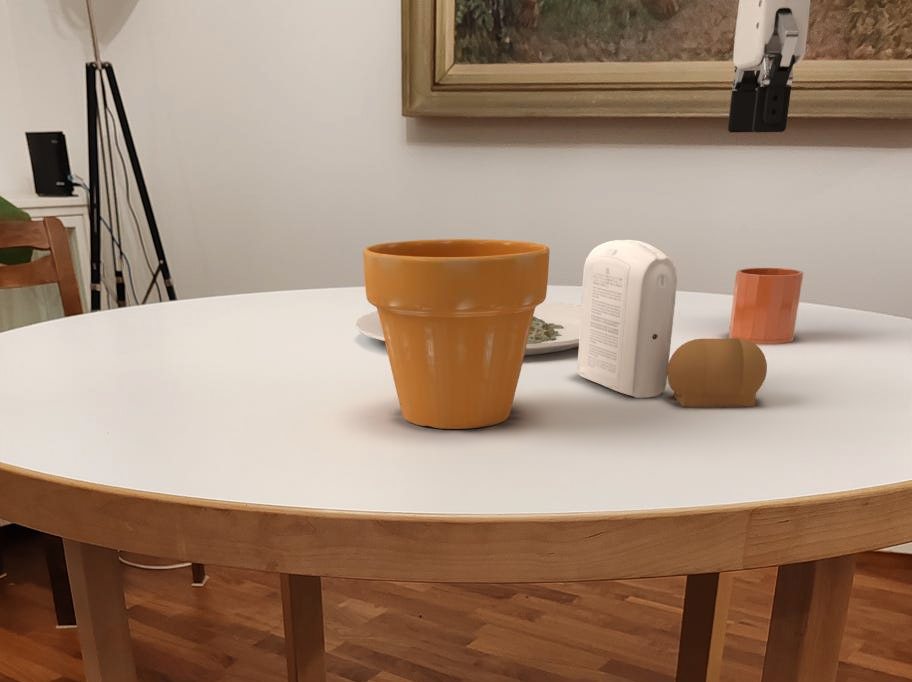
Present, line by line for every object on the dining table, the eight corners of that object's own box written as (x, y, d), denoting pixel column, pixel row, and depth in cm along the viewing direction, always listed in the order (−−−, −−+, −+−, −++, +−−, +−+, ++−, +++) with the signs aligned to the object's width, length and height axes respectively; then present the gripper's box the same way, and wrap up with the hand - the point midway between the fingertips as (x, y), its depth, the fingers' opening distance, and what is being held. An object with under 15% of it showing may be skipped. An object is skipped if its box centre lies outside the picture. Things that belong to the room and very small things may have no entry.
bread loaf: (752, 393, 86) (761, 332, 84) (770, 408, 82) (779, 344, 79) (659, 394, 86) (664, 333, 84) (671, 409, 82) (677, 345, 79)
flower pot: (426, 389, 89) (424, 235, 83) (570, 407, 83) (579, 241, 77) (335, 425, 79) (325, 252, 73) (492, 449, 72) (495, 261, 66)
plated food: (655, 324, 117) (657, 294, 116) (566, 375, 94) (567, 338, 92) (432, 309, 130) (432, 282, 128) (304, 350, 106) (302, 318, 105)
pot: (782, 332, 112) (791, 267, 108) (801, 344, 106) (812, 275, 102) (722, 333, 112) (729, 268, 108) (737, 345, 106) (746, 276, 102)
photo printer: (673, 395, 86) (688, 244, 80) (631, 401, 84) (644, 246, 79) (609, 373, 94) (619, 234, 89) (570, 377, 93) (577, 236, 87)
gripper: (850, -86, 87) (818, 131, 95) (790, -53, 103) (767, 131, 111) (765, -84, 87) (740, 132, 95) (718, -51, 103) (700, 132, 111)
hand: (755, 132), depth 103 cm, fingers open, 9 cm apart
